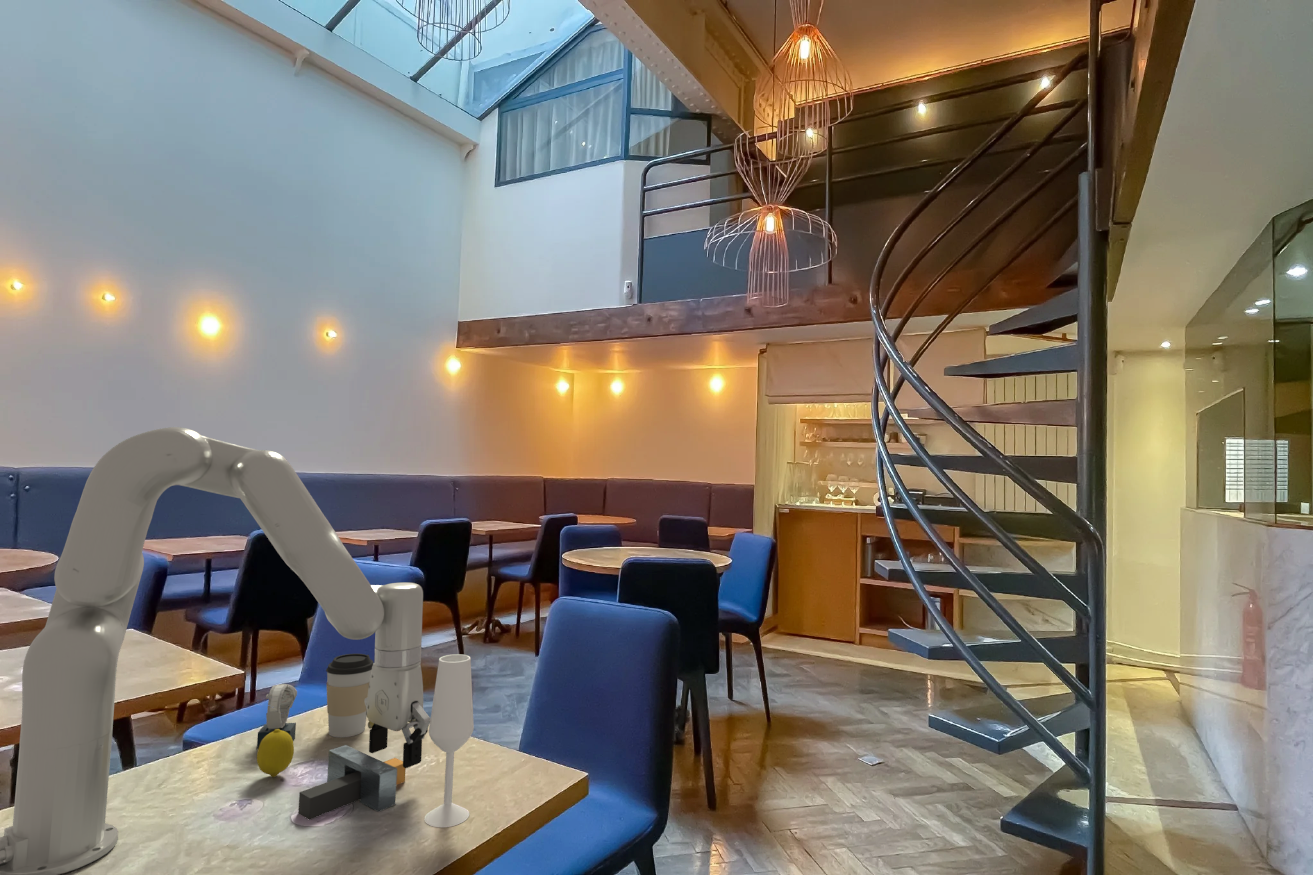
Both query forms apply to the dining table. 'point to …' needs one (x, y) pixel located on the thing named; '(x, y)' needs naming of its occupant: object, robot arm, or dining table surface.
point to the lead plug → (338, 792)
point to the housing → (365, 776)
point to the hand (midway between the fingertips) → (394, 757)
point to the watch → (278, 711)
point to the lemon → (275, 752)
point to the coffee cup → (347, 694)
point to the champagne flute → (451, 728)
